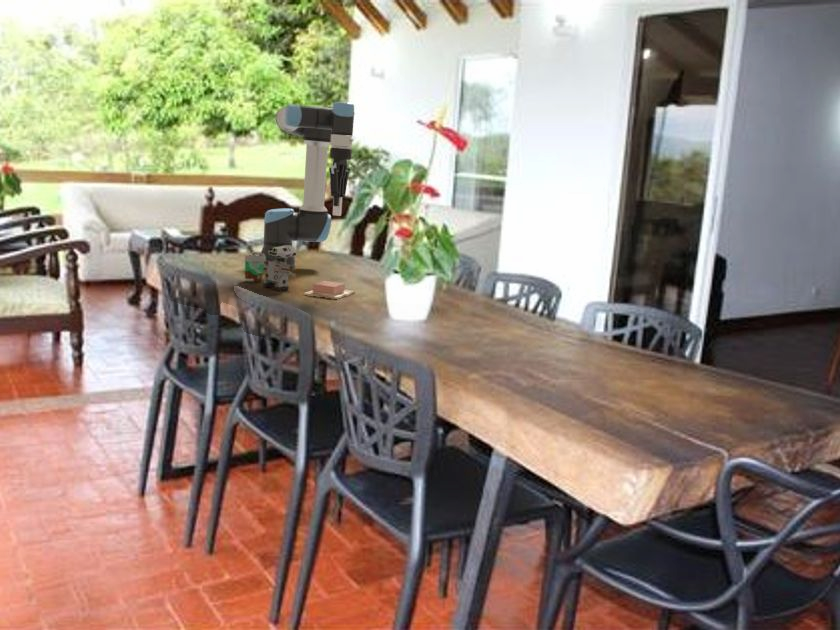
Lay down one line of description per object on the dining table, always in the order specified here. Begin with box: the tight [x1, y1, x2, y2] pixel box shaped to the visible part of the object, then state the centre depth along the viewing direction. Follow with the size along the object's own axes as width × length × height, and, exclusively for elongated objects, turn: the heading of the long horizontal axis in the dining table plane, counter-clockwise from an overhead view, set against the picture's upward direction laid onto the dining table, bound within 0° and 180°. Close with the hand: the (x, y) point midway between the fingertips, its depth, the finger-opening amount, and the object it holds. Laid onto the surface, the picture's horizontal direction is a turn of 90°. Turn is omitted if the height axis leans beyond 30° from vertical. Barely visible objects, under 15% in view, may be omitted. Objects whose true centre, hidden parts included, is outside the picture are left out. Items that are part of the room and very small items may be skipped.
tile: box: [311, 280, 346, 296], centre depth 289 cm, size 3×8×9 cm
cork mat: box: [303, 289, 356, 300], centre depth 291 cm, size 16×12×1 cm
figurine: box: [263, 245, 298, 292], centre depth 293 cm, size 9×12×15 cm
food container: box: [244, 251, 266, 284], centre depth 303 cm, size 12×6×10 cm, turn 179°
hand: (336, 215), depth 297 cm, fingers closed
